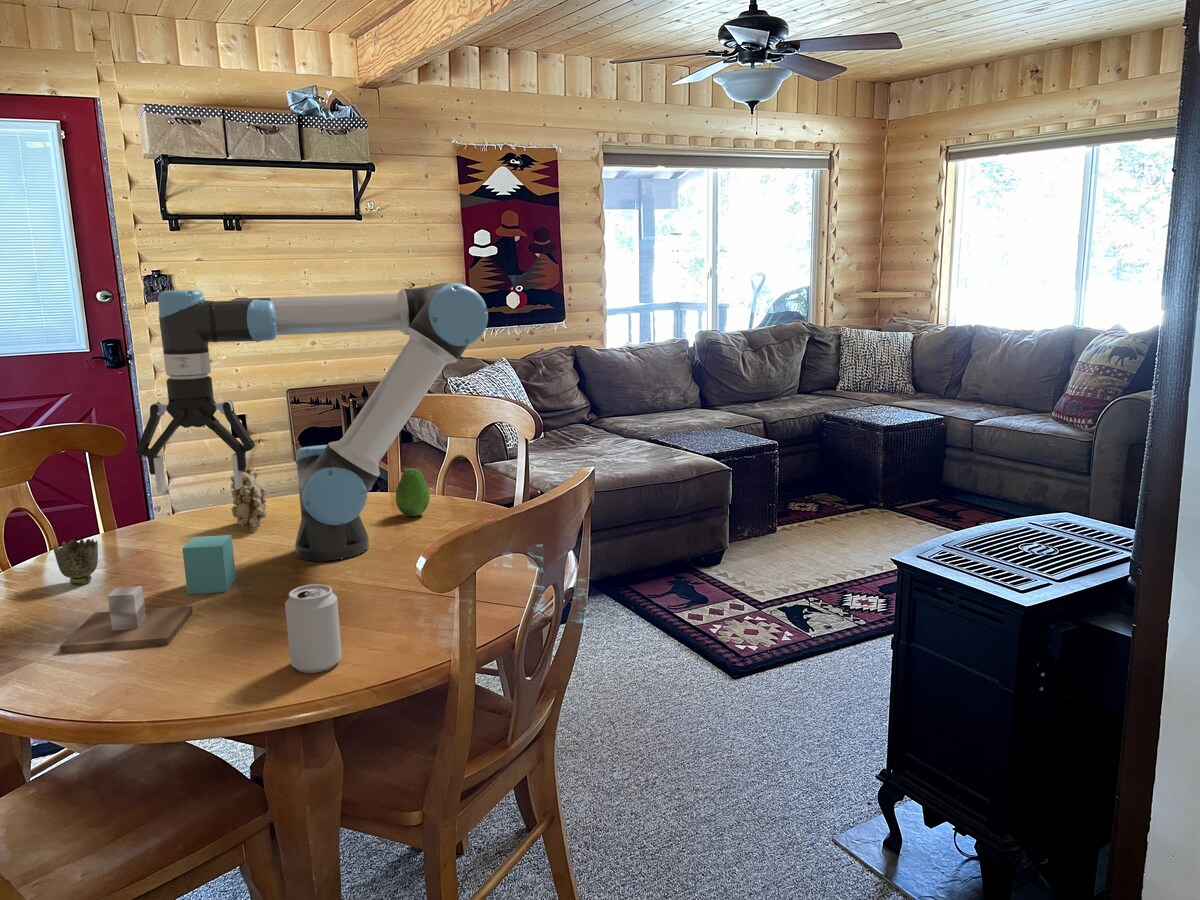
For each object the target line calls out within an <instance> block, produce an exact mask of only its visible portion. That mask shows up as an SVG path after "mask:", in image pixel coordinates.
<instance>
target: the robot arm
mask: <svg viewBox="0 0 1200 900" xmlns="http://www.w3.org/2000/svg"><path fill="white" fill-rule="evenodd" d="M204 296H205V295H204V293H203V291H201V290H199V289H196V290H193V289H190V290H187V289H185V290H184V289H183V290H181V289H180V290H179V289H178V290H165V291H164V290H163V291H162V292H160V293H159V294H158V296H157V299H158V302H157V303H158V304H157V305H158V320H159V327H160V328H159V329H160V337H161V343H162V344H161V345H162V349H163V350H162V352H163V362H164V371H165V375H166V376H168V377H169V378H167V380H166V389H167V398H168V403H167V404H162V403H160V402H155V403H153V404H151V405H150V406H149V418H148V420H147V423H146V426H145V427H144V431H143V432H142V435H141V437H140V440H139V441H138V444H137V447H136V449H135V454H136V455H138V456H144V457H146V458H147V461H148V468H149V469H148V471H149V474H150V475H155V482H156V483H155V484H156V491H157V492H156V493H157V494H161V493H163V492H165V491H166V490H167V483H166V473H165V472H166V471H165V464H164V455H162V454H161V455H159V453H160V451H161V450H162V449H163V448H164V446H165V445H166V444H167V442H169V440H170V439H171V438H172V436H173V435H174V434H175V432H176V431H177V429H179V427H183V428H184V429H185V428H186V429H187V428H191V427H194V428H202V427H205V426H206V427H207V428H208V429H210V430H211V431H212V432H213V433H214V434H216V436H217V437H219V438H220V439H221V440H222V441H223V442H224V443H225V444H226V445H227V446H228V447H230V449H232V451H233V452H234V453H233V454H232V455H231V461H232V462H231V463H232V473H233V475H234V483H235V489H240V488H241V487H242V486H243V484H242V473H241V471H244V470H245V469H246V467H247V460H246V459H247V458H246V457H247V456H246V452H249V451H252V450H253V449H254V448H255V446H256V444H255V442H254V440H253V438H252V437H251V435H250V434H249V432H248V431H247V429H246V428H245V426H244V425H243V423H242V421H241V420H240V418H239V417H238V415H237V414H236V412H235V409H234V403H233V401H232V400H229V399H228V400H227V401H224V402H217V403H216V401H215V398H214V390H213V387H214V386H213V381H212V379H213V378H212V377H211V376H209V374H211V372H212V369H211V359H210V351H209V349H210V348H209V344H210V343H233V342H234V343H235V342H236V343H237V342H239V343H241V342H256V343H259V342H260V343H261V342H262V341H273V340H275V339H276V338H277V336H290V335H292V336H293V335H295V336H297V335H316V334H341V333H343V334H344V333H366V332H367V333H368V332H395V331H396V332H397V331H399V332H400V333H402V334H403V335H404V336H409V337H408V338H409V339H408V341H407V343H406V344H405V345H404V347H403V348H402V349H401V351H400V353H399V354H398V355H397V356H396V357H397V358H395V360H394V361H393V363H392V364H391V366H390V367H389V369H388V370H387V372H386V373H385V374H384V376H383V378H382V379H381V380H380V382H379V383H378V385H377V386H376V388H375V389H374V390H373V392H372V394H371V395H370V396H369V398H368V399H367V401H366V402H365V404H364V405H363V407H362V408H361V409H360V411H359V413H358V414H357V415H356V417H355V418H354V419H353V421H352V422H351V424H350V426H349V427H348V428H347V430H346V432H344V434H343V436H342V437H341V439H339V440H336V441H330V442H328V444H321V445H311V446H304V447H300V448H298V449H297V451H296V455H295V458H296V459H295V465H296V470H297V472H296V473H297V483H298V492H299V493H298V494H299V505H300V515H301V520H300V524H299V528H298V531H297V536H296V539H295V544H294V548H295V550H294V551H295V555H296V556H297V558H299V559H301V560H305V561H309V560H313V561H312V562H327V561H326V560H333V561H337V560H336V559H340V560H342V559H341V558H346V557H350V556H353V555H356V554H359V553H361V552H363V551H365V550H366V549H367V548H368V547H369V548H370V542H369V541H370V540H369V535H368V533H367V530H366V528H365V526H364V524H363V520H362V518H361V516H360V514H361V513H362V511H363V510H364V508H365V506H366V503H367V499H368V493H369V492H370V490H371V489H372V487H373V486H374V484H375V483H376V481H377V480H378V479H379V477H380V475H381V472H380V467H379V463H381V460H382V459H383V458H384V456H385V454H386V453H387V451H388V450H389V449H390V447H391V445H392V444H393V443H394V441H395V440H396V438H397V437H398V436H399V434H400V433H401V431H402V430H403V428H404V426H405V425H406V424H407V422H408V421H409V419H410V418H411V416H412V415H413V413H414V412H415V410H416V409H417V408H418V406H419V404H420V403H421V402H422V400H423V399H424V397H425V396H426V394H427V393H428V391H429V390H430V389H431V387H432V385H433V384H434V383H435V381H436V379H437V378H438V376H439V375H440V374H441V372H442V371H443V369H444V368H445V366H446V365H448V364H453V363H458V361H459V359H461V357H462V356H463V355H464V352H465V351H466V350H467V348H468V346H469V345H471V344H473V343H474V342H476V341H477V340H478V339H480V338H481V337H482V335H483V334H484V332H485V330H486V328H487V325H488V322H489V312H488V308H487V304H486V302H485V300H484V298H483V297H482V295H480V294H479V293H478V292H477V291H476V290H475V289H473V288H472V287H469V286H468V285H466V284H463V283H459V282H452V283H451V282H450V283H449V282H448V283H443V282H442V283H438V284H432V285H428V286H423V287H415V288H401V289H400V290H399V291H398V292H397V293H389V294H388V293H387V294H386V293H384V294H383V293H381V294H380V293H379V294H353V295H352V294H350V295H349V294H347V295H318V296H315V295H311V296H279V297H276V296H275V297H236V298H234V299H231V300H217V301H214V300H206V299H205V297H204ZM216 411H220V413H221V414H223V415H224V417H225V418H226V421H227V422H228V423H229V425H230V426H231V428H232V430H233V431H234V433H235V435H236V436H237V437H238V438H239V440H240V441H239V440H238V439H237V438H236V437H235V436H234V435H233V434H232V433H231V432H230V431H229V430H228V429H227V428H226V427H225V426H224V425H222V423H220V420H219V419H217V417H216V416H214V415H215V413H216ZM166 412H167V413H168V414H169V415H170V416H171V418H172V420H171V421H170V422H169V424H167V427H166V429H164V431H163V432H162V433H161V435H159V437H158V438H157V440H156V441H155V442H154V443H153V444H152V446H151V447H150V445H151V441H152V439H153V437H154V435H155V433H156V430H157V427H158V425H159V423H160V421H161V417H162V416H164V415H165V413H166ZM149 447H150V448H149ZM369 548H368V549H369ZM365 552H366V551H365ZM359 555H360V554H359ZM350 558H351V557H350ZM346 559H347V558H346Z"/></svg>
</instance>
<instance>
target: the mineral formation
mask: <svg viewBox="0 0 1200 900" xmlns="http://www.w3.org/2000/svg"><path fill="white" fill-rule="evenodd" d="M241 473H242V484H243V486H242V487H241V488H240V489H235V483H234V474H233V475H231V477H230V481H231V485H230V488H231V489H232V491H231V496H232V498H233V501H232V504H233V506H232V507H231V508H230V509H231V512H232V516H233V517H234V518H236V523H237V525H239V526H240V527H243V526H244V525H246V524H249V526H250V527H249V530H250V532H251V533H254V532H256V531H257V529H258V528H260V527H261V519H264V518H266V515H267V512H266V508H267V503H266V502H267V499H266V498H265V496H266V494H267V489H266V488H265V486H261V487H260V485H259V483H258V482H257V477H258V472H257V471H256V469H254V467H247V466H246V469H245V470H244V471H241Z"/></svg>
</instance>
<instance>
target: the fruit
mask: <svg viewBox="0 0 1200 900" xmlns="http://www.w3.org/2000/svg"><path fill="white" fill-rule="evenodd" d="M430 496H431V495H430V489H429V486H428V483H427V482H426V480H425V477H424V474H423V472H422V471H420V470H419V469H417V468H414V467H409V468H407V469H405V471H404V472H403V473H402V475H401V478H400V480H399V482H398V484H397V487H396V492H395V502H396V506H397V508H398V510H399V511H400V512H401V513H402V515H404V516H406V515H407V516H406V517H410V516H415V517H418V516H421V515H422V514H423V513H425V511H426V509H427V508H428V506H429V504H430ZM417 515H418V516H417Z"/></svg>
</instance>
